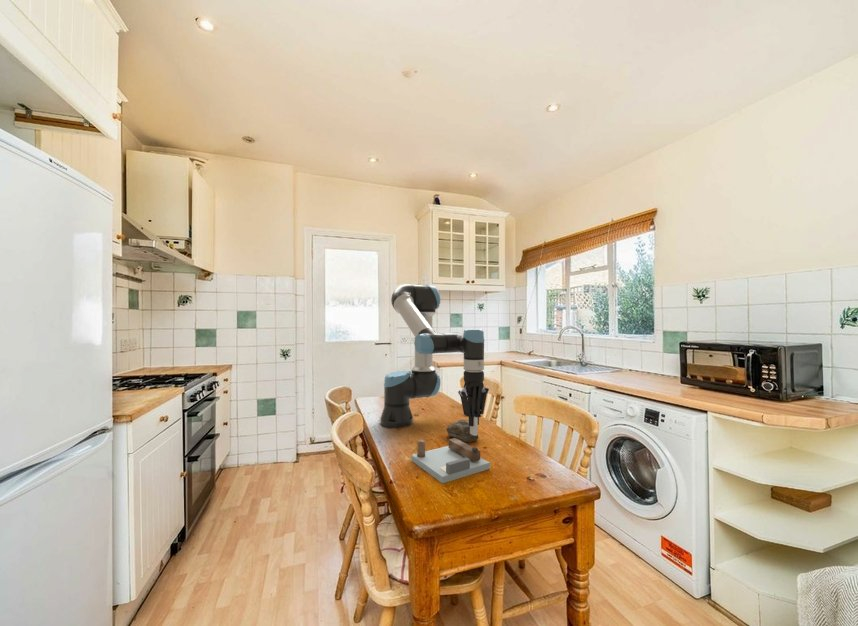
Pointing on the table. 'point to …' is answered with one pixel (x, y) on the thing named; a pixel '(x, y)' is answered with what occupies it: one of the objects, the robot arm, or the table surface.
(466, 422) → the stone
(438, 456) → the board
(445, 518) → the table surface
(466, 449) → the leg
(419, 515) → the table surface
